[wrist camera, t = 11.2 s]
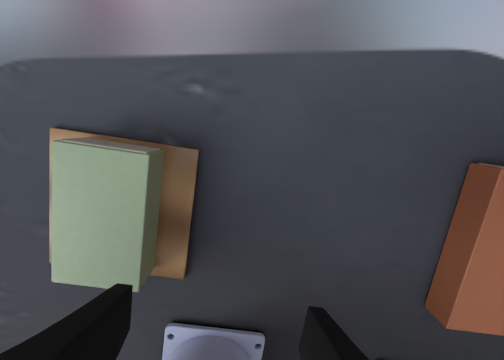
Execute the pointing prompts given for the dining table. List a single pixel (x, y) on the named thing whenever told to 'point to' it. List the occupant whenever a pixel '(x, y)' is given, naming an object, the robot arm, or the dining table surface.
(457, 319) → the hardback
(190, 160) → the cork mat
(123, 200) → the pale green rectangular block
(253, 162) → the dining table surface
